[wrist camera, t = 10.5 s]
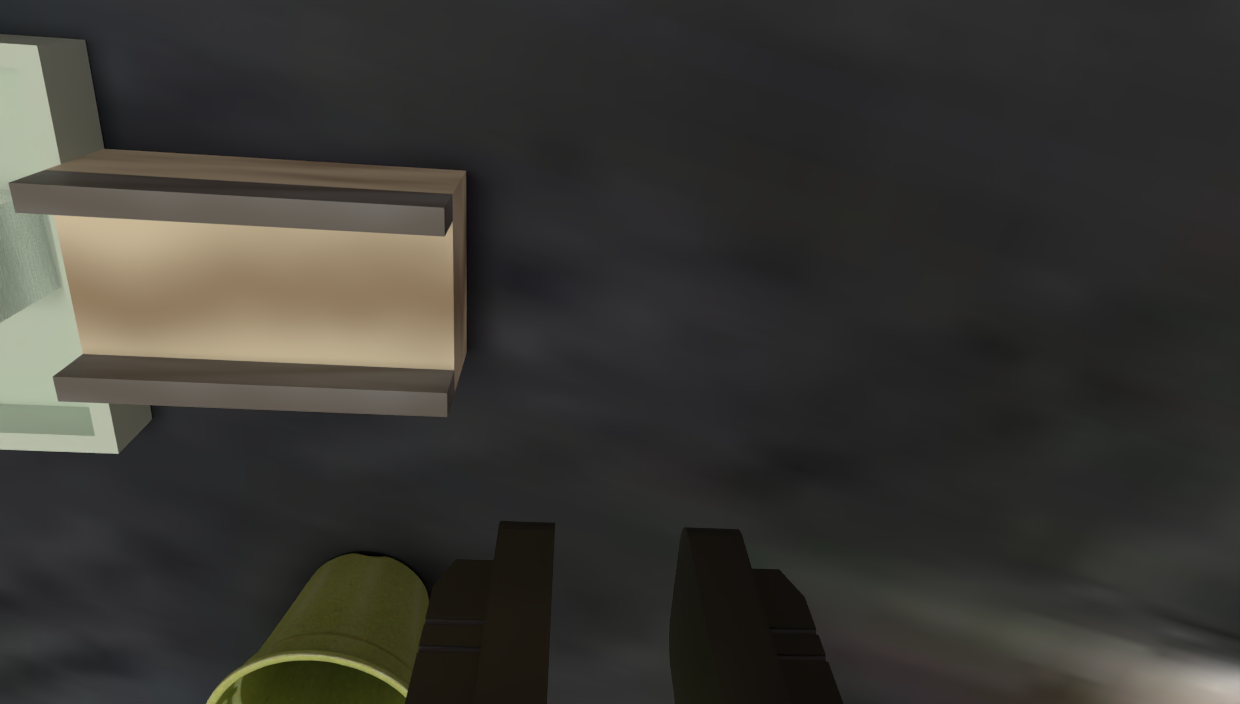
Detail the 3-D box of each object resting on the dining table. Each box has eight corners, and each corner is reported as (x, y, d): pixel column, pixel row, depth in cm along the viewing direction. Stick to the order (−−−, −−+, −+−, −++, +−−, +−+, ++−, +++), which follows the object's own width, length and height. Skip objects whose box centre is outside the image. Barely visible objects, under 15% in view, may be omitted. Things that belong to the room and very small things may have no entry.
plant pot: (368, 697, 45) (323, 851, 37) (232, 590, 41) (150, 734, 34) (500, 607, 43) (482, 750, 35) (367, 488, 39) (314, 616, 31)
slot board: (104, 148, 32) (8, 182, 27) (466, 170, 33) (444, 207, 28) (137, 337, 36) (57, 401, 30) (466, 352, 37) (447, 416, 31)
